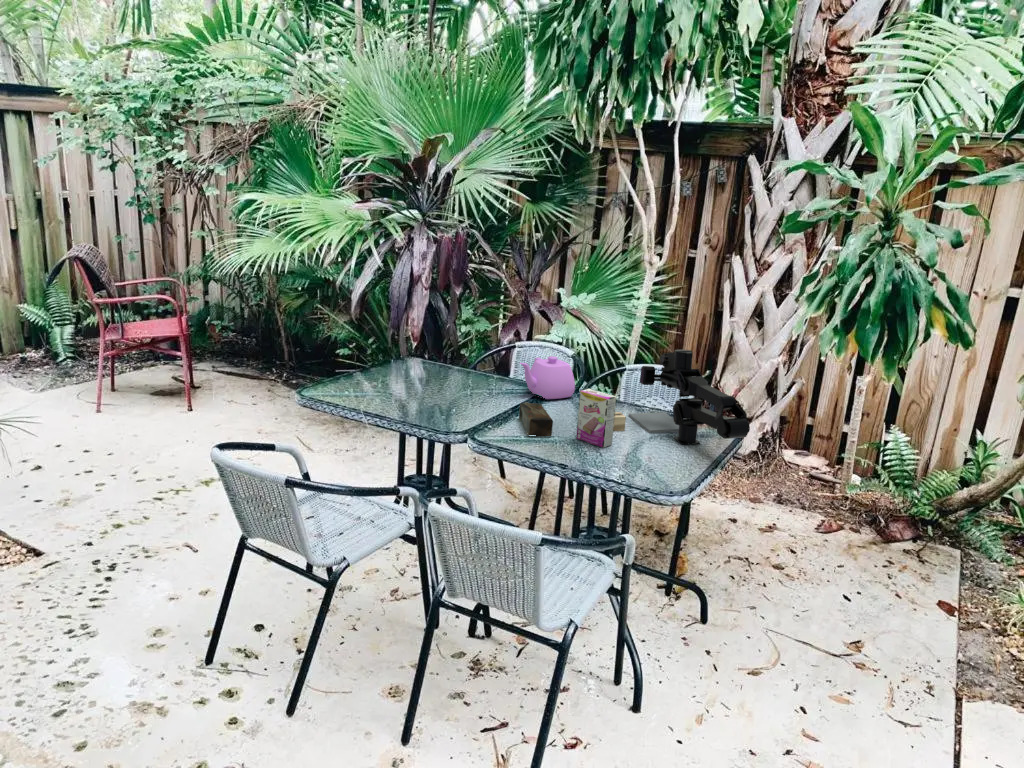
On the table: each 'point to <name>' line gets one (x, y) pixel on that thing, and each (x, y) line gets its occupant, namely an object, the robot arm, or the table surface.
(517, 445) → the table surface
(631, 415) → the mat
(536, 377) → the teapot
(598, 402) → the candy bar box
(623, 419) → the lettered cube
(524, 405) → the beverage carton
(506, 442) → the table surface
